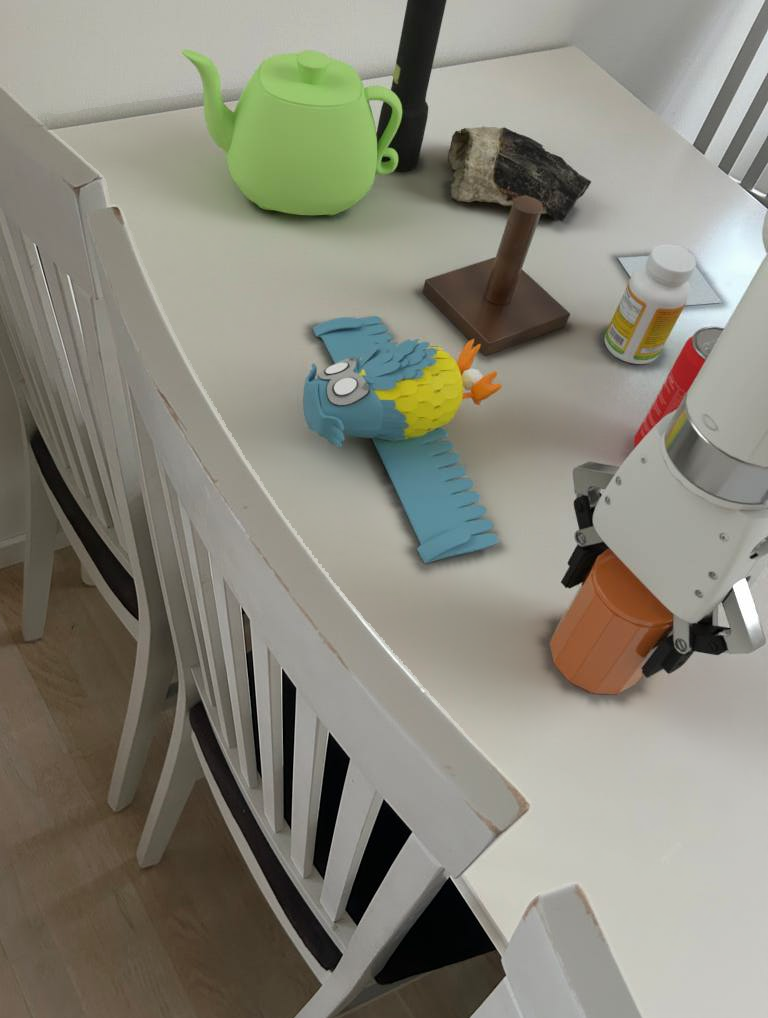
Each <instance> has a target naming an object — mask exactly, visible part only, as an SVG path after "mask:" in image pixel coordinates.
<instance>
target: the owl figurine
mask: <svg viewBox="0 0 768 1018" xmlns="http://www.w3.org/2000/svg"><path fill="white" fill-rule="evenodd" d="M381 322H382V318H381V317H380V316H377V315H372V316H366V317H360V318H356V317H338V318H333V319H328V320H327V321H323V322H321V323H319V324H317V325H315V326H314V325H313V326H312V331H313V333H314V336H315V337H316V338H320V339H322V342H323V344H324V346H325V347H326V349H327V351H328V353H329V355H330V357H331V359H332V361H333V364H332V365H330V366H328V367H326V368H325V369H323V370H322V371H320V372H319V373H318V367H317V365H316V363H315V362H313V363H312V364H311V369H310V370H309V372H308V375H307V376H306V377H305V381H304V385H303V394H302V395H303V397H302V409H303V414H304V419H305V422H306V424H307V426H308V429H309V430H310V431H311V432H313V433H315V434H318V435H319V436H320V437H321V438H324V439H326V440H327V441H328V442H329V443H331V444H333V445H334V446H335V447H336V448H338V449H341V448H342V447H343V444H342V443H344V442H345V436H350V437H355V438H364V439H372V442H373V445H374V447H375V449H376V450H377V452H378V455H379V457H380V459H381V461H382V463H383V465H384V468H385V470H386V472H387V474H388V476H389V479H390V481H391V482H392V484H393V487H394V489H395V491H396V494H397V496H398V499H399V500H400V502H401V505H402V507H403V509H404V511H405V513H406V515H407V518H408V520H409V522H410V525H411V526H412V529H413V531H414V533H415V535H416V538H417V540H418V542H419V546H418V547H416V550H417V552H418V554H419V556H420V558H421V560H422V561H423V563H424V564H429V563H433V562H436V561H440V560H443V559H446V558H447V559H448V558H450V557H456V556H457V557H458V556H460V555H465V554H468V553H473V552H478V551H482V550H484V549H488V548H492V547H493V546H495V545H497V544H498V542H499V537H498V536H497V534H495V533H493V532H489V531H491V530H492V529H493V527H494V523H493V521H492V520H490V519H488V518H483V517H484V516H485V515H486V514H487V508H486V506H484V505H482V504H475V503H478V502H479V501H480V498H481V495H480V493H479V492H477V491H475V490H470V489H472V488H473V486H474V481H473V480H472V479H471V478H468V477H465V478H464V476H466V474H467V471H468V470H467V468H466V467H465V466H463V465H456V464H458V463H459V462H460V460H461V456H460V454H458V453H457V452H452V451H453V450H454V447H455V445H454V444H455V443H453V442H452V441H451V440H444V439H446V438H447V437H448V431H447V429H445V428H442V427H443V426H446V425H447V424H449V423H450V422H452V419H453V418H454V417H455V416H456V413H457V412H458V411H459V409H460V407H461V404H462V401H463V400H467V399H472V400H471V401H472V402H473V403H474V405H475V406H481V402H482V401H485V400H487V399H488V398H490V397H491V396H493V395H494V394H495V393H497V392H498V391H500V390H501V389H502V386H503V385H502V384H501V383H493V381H494V380H495V378H496V377H497V376H498V371H496V370H494V371H492V372H489V373H487V374H485V375H483V374H482V373H481V372H480V370H479V369H476V368H472V364H473V363H474V360H475V357H476V356H477V354H478V352H479V351H480V350H479V349H480V345H481V344H478V345H477V346H475V345H474V344H473V343H474V339H472V340H468V341H467V342H466V344H465V345H464V346H463V347H462V350H461V352H460V354H459V355H458V358H457V360H455V358H453V356H451V355H450V353H449V352H447V351H444V350H445V349H444V348H443V347H439V346H436V345H431V344H430V343H429V341H421V342H419V341H420V339H419V338H416V339H413V340H412V339H411V338H410V339H406V340H404V341H401V342H400V343H399V342H397V341H392V340H393V339H394V334H392V333H389V332H388V330H389V327H388V326H387V325H386V324H380V323H381ZM317 373H318V374H317ZM464 390H466V391H470V392H464ZM473 504H474V505H473ZM487 532H488V533H487Z"/></svg>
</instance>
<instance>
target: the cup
mask: <svg viewBox="0 0 768 1018" xmlns="http://www.w3.org/2000/svg"><path fill="white" fill-rule="evenodd" d="M672 634H673V613H672V612H671V611H670V610H669V609H667V608H666V607H665V606H664V605H663V604H662V603H661V602H660V601H659V600H658V599H657V598H656V597H655V596H654V595H653V594H652V593H651V591H650V590H649V589H648V588H647V587H646V586H645V585H644V584H643V583H642V582H641V581H640V580H639V579H638V578H637V577H636V576H635V575H634V574H633V573H632V572H631V571H630V569H629V568H628V567H627V566H626V565H625V564H624V563H623V562H622V561H621V560H620V559H619V558H618V557H617V556H616V555H615V553H614V552H613V551H612V550H611V549H610V548H609V549H607V550H606V551H604V552H603V553H602V554H601V555H599V556H598V557H597V559H596V560H595V562H594V564H593V565H592V567H591V569H590V571H589V572H588V574H587V576H586V577H585V579H584V581H583V582H582V583H580V586H579V588H578V589H577V591H576V593H575V595H574V596H573V598H572V599H571V601H570V603H569V605H568V607H567V608H566V610H565V612H564V613H563V615H562V617H561V619H560V621H559V622H558V624H557V625H556V628H555V630H554V632H553V634H552V636H551V638H550V641H549V647H550V652H551V656H552V661H553V662H552V663H553V664H554V666H555V667H556V668H557V669H558V670H559V672H560V673H561V674H562V675H563V676H564V677H565V678H566V680H567V682H569V683H570V684H572V685H575V686H576V687H579V688H581V689H583V690H585V691H587V692H589V693H591V694H596V695H619V694H621V693H622V692H624V691H627V690H628V689H630V688H631V687H633V686H635V685H636V684H637V683H638V681H640V679H641V678H642V677H643V676H644V674H643V673H642V671H643V670H642V669H641V668H642V667H643V665H644V664H645V663H646V661H647V660H648V659H649V657H650V656H651V655H652V653H653V652H654V651H655V649H656V648H657V647H658V646H659V644H660V643H661V642H662V641H663V640H664V639H665V638H667V637H669V636H670V635H672Z"/></svg>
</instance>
